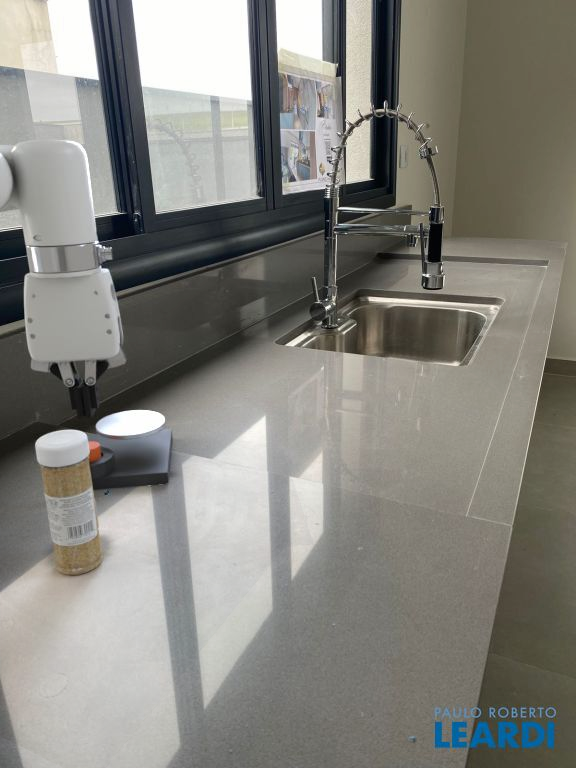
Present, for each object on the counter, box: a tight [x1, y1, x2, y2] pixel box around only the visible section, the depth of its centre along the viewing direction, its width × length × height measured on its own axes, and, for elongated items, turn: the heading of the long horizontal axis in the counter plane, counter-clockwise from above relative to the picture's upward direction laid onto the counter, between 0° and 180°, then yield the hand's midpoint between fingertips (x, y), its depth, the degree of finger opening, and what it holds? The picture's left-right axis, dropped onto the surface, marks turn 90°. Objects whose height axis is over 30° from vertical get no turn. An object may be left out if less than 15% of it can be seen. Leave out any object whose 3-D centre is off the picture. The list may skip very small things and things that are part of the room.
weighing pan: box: [95, 409, 166, 440], centre depth 81 cm, size 9×9×2 cm
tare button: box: [88, 441, 101, 462], centre depth 74 cm, size 3×3×2 cm
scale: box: [86, 428, 174, 491], centre depth 80 cm, size 12×14×4 cm
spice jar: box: [34, 429, 104, 576], centre depth 57 cm, size 5×5×13 cm
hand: (87, 413), depth 73 cm, fingers closed
